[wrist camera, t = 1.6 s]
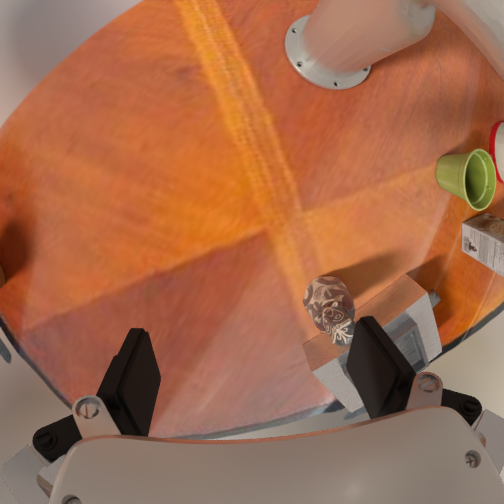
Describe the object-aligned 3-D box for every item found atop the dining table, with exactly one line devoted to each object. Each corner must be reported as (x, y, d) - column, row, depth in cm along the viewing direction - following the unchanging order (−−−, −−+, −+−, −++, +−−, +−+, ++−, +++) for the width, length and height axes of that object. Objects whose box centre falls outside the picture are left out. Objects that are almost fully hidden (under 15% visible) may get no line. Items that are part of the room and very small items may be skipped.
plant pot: (449, 135, 33) (484, 137, 25) (468, 178, 36) (501, 187, 28) (420, 165, 35) (455, 172, 27) (442, 209, 38) (475, 223, 30)
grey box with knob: (417, 263, 41) (447, 286, 33) (435, 323, 47) (458, 347, 39) (302, 344, 45) (314, 381, 37) (341, 389, 51) (354, 419, 43)
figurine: (328, 265, 40) (360, 307, 29) (352, 293, 42) (385, 336, 31) (293, 296, 42) (312, 346, 30) (320, 320, 44) (342, 370, 32)
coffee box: (486, 211, 39) (543, 236, 24) (486, 239, 41) (538, 269, 26) (460, 222, 39) (522, 253, 24) (460, 252, 41) (516, 288, 26)
